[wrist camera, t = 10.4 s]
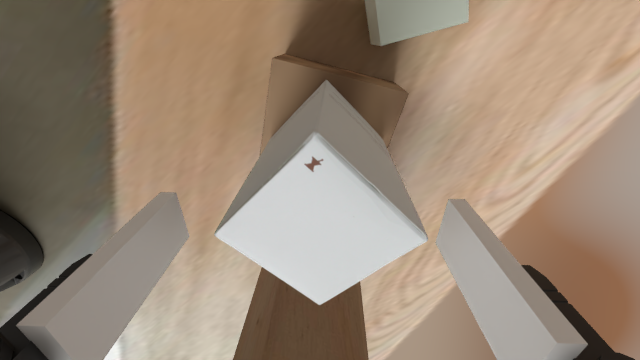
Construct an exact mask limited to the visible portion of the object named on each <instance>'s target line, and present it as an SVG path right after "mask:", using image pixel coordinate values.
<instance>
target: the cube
mask: <svg viewBox="0 0 640 360" xmlns="http://www.w3.org/2000/svg"><path fill="white" fill-rule="evenodd" d="M364 1H365V8H366V15H367V22H368V28H369V35H370V42H371V44H372V45H378V46H383V45H387V44H390V43H394V42H398V41H401V40H405V39H408V38H412V37H416V36H419V35H423V34H427V33H430V32H434V31H437V30H441V29H445V28H448V27H452V26H455V25H459V24H463V23H466V22H468V12H469V0H364Z"/></svg>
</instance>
